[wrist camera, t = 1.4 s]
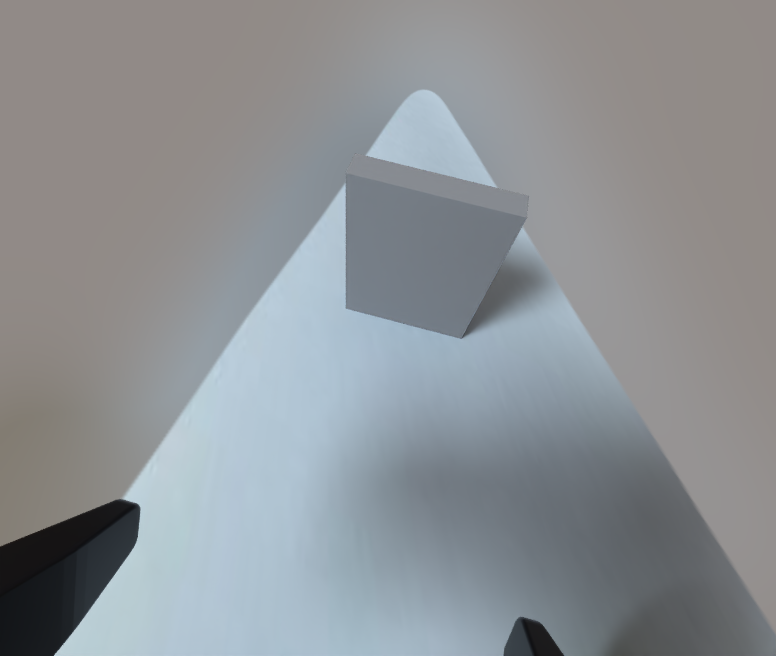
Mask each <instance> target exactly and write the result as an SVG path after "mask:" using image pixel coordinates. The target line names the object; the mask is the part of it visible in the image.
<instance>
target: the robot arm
mask: <svg viewBox="0 0 776 656" xmlns="http://www.w3.org/2000/svg"><path fill="white" fill-rule="evenodd" d="M139 520H140V506H139V505H138V504H137V503H133V502H130V501H126V500H123V499H119V500H115V501H112V502H110V503H107V504H105V505H102V506H100V507H97V508H95V509H92V510H90V511H88V512H85V513H82V514H80V515H77V516H75V517H72V518H70V519H67V520H65V521H63V522H60V523H57V524H55V525H53V526H50V527H48V528H45V529H43V530H40V531H38V532H35V533H33V534H30V535H28V536H25V537H23V538H20V539H18V540H15V541H13V542H10V543H8V544H5V545H3V546H0V656H54V655H55V653H56V652H57V651H58V650H59V649H60V648H61V646H62V645H63V644H64V643H65V641H66V640H67V639H68V638H69V636H70V635H71V634H72V633H73V632H74V630H75V629H76V627H77V626H78V625H79V623H80V622H81V621H82V619H83V618H84V617H85V615H86V614H87V613H88V611H89V610H90V608H91V607H92V606H93V604H94V603H95V601H96V600H97V599H98V597H99V596H100V594H101V593H102V592H103V590H104V589H105V587H106V586H107V585H108V583H109V582H110V580H111V579H112V578H113V576H114V575H115V573H116V572H117V571H118V569H119V568H120V566H121V565H122V564H123V562H124V561H125V559H126V558H127V557H128V555H129V554H130V552H131V551H132V549H133V548H134V546H135V544H136V541H137V538H138V530H139ZM503 656H564V655H563V653H562V652H561V650H560V649H559V647H558V646H557V645H556V643H555V642H554V640H553V639H552V637H551V636H550V634H549V633H548V632H547V630H546V629H545V627H544V626H543V625H542V624H541V623H540V622H538V621H535V620H531V619H528V618H524V617H519V618H518V619H517V620H516V622H515V624H514V627H513V629H512V632H511V634H510V636H509V639H508V641H507V643H506V646H505V649H504V655H503Z"/></svg>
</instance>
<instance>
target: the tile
mask: <svg viewBox="0 0 776 656" xmlns="http://www.w3.org/2000/svg"><path fill="white" fill-rule="evenodd" d="M528 200H529V196H527V195H523V194H519V193H515V192H511V191H507V190H503V189H499V188H495V187H491V186H486V185H482V184H478V183H474V182H470V181H466V180H462V179H458V178H454V177H450V176H446V175H442V174H438V173H433V172H429V171H425V170H421V169H417V168H413V167H409V166H405V165H401V164H397V163H393V162H389V161H385V160H380V159H376V158H372V157H368V156H364V155H360V154H356V153H355V154H354V156H353V159H352V161H351V163H350V165H349V167H348V169H347V172H346V309H350V310H354V311H358V312H361V313H365V314H369V315H373V316H377V317H380V318H384V319H388V320H392V321H396V322H399V323H403V324H407V325H411V326H415V327H419V328H422V329H426V330H430V331H434V332H438V333H441V334H445V335H449V336H453V337H457V338H460V339H461V338H462V336H463V335H464V333H465V331H466V329H467V327H468V325H469V324H470V322H471V320H472V318H473V316H474V314H475V312H476V311H477V309H478V307H479V305H480V303H481V301H482V300H483V298H484V296H485V294H486V292H487V290H488V289H489V287H490V285H491V283H492V281H493V279H494V277H495V276H496V274H497V272H498V270H499V268H500V266H501V265H502V263H503V261H504V259H505V257H506V255H507V254H508V252H509V250H510V248H511V246H512V244H513V242H514V241H515V239H516V237H517V235H518V233H519V231H520V230H521V228H522V226H523V224H524V222H525V220H526V218H527V211H528Z"/></svg>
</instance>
